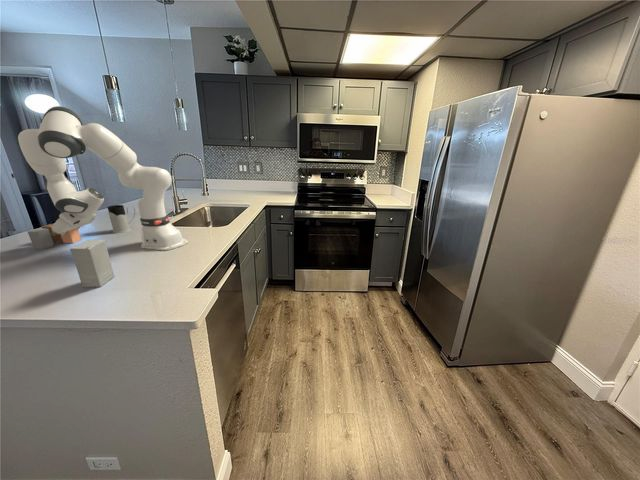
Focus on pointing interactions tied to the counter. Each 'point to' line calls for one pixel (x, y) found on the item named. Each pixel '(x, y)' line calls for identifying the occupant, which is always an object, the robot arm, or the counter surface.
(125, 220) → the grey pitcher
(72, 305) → the counter surface
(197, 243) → the counter surface
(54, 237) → the walnut block
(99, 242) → the skincare box
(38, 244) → the grey block
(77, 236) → the terracotta block
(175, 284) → the counter surface
